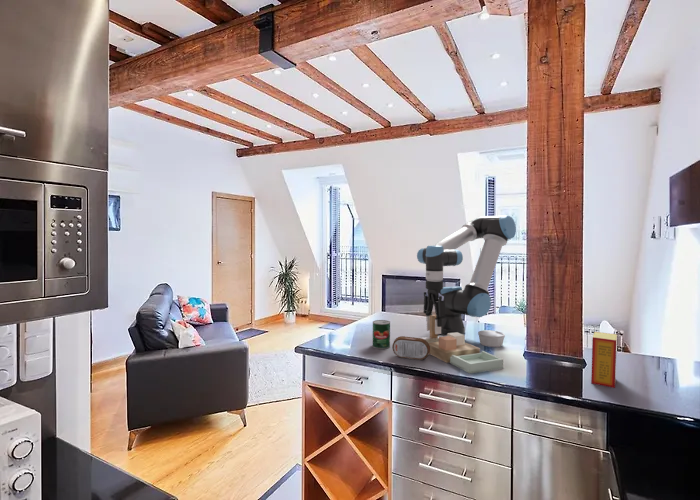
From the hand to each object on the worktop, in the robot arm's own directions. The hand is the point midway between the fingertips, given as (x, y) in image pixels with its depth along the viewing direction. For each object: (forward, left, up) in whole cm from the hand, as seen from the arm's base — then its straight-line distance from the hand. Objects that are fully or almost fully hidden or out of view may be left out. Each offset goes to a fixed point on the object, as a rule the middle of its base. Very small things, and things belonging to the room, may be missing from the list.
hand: (433, 331), depth 173 cm
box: (-1, +28, -6) cm, 29 cm away
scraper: (0, 0, -6) cm, 6 cm away
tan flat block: (0, +14, -6) cm, 15 cm away
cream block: (-3, +12, -2) cm, 13 cm away
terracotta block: (+4, +16, -2) cm, 17 cm away
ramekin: (-26, +7, -7) cm, 28 cm away
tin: (+18, +11, -7) cm, 22 cm away
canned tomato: (+22, -8, -7) cm, 24 cm away
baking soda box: (-31, +56, -7) cm, 64 cm away
